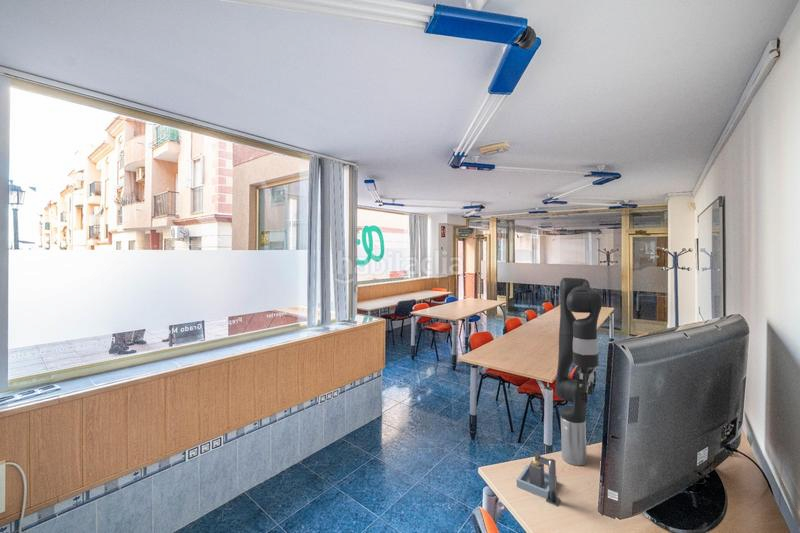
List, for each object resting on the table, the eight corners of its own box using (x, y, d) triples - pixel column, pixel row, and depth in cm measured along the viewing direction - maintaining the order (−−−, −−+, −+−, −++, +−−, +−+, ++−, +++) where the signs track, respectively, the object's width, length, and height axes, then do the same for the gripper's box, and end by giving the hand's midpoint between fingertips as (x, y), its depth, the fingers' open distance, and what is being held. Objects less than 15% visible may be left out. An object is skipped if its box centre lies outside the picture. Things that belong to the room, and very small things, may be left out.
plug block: (533, 478, 126) (532, 454, 125) (544, 482, 123) (543, 458, 123) (529, 483, 123) (528, 459, 122) (540, 488, 120) (540, 463, 120)
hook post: (538, 491, 119) (537, 448, 119) (560, 500, 114) (558, 456, 114) (534, 496, 116) (533, 453, 116) (557, 506, 112) (555, 461, 111)
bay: (527, 471, 130) (526, 465, 130) (556, 482, 123) (556, 476, 123) (516, 486, 122) (516, 479, 122) (548, 499, 115) (547, 492, 115)
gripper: (577, 344, 119) (579, 389, 120) (567, 354, 109) (569, 403, 109) (601, 347, 115) (603, 394, 115) (593, 357, 104) (595, 408, 104)
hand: (586, 398), depth 112 cm, fingers open, 8 cm apart
